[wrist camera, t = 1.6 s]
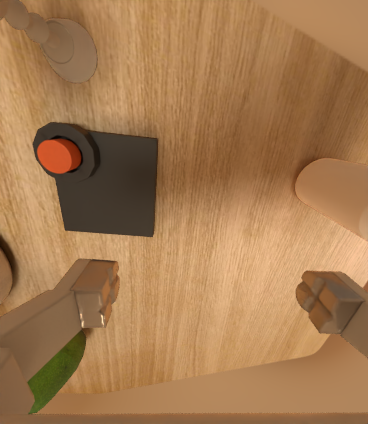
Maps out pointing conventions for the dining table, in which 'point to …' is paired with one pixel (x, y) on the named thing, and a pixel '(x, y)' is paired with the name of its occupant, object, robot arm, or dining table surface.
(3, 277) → the planter
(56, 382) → the avocado
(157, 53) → the dining table surface
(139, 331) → the dining table surface
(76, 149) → the button
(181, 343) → the dining table surface
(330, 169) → the beverage can
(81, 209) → the scale
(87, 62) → the chalice
